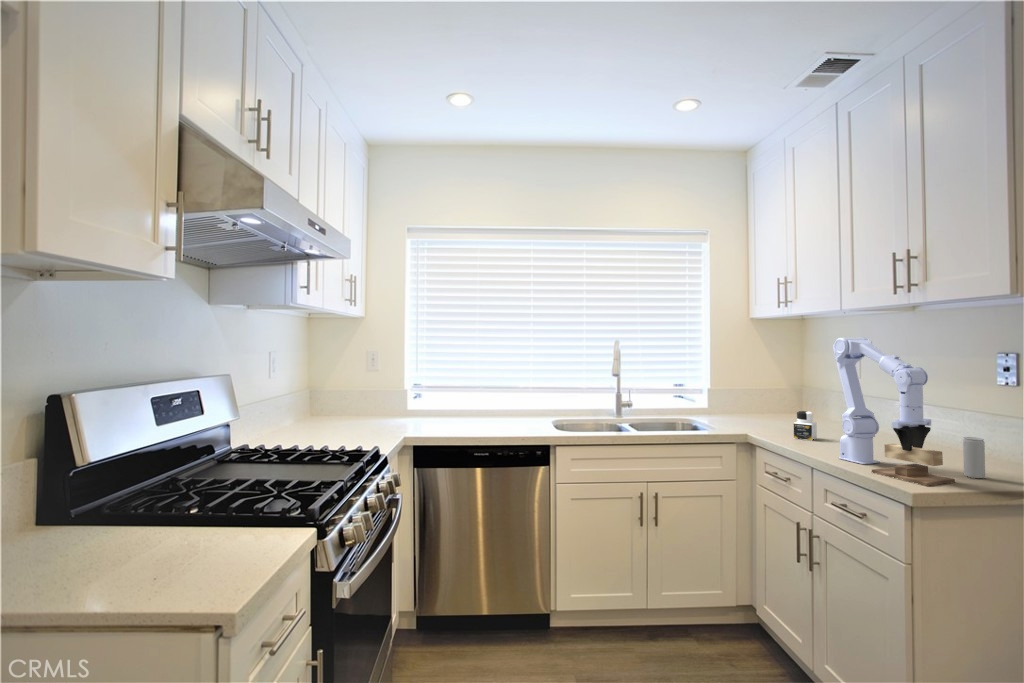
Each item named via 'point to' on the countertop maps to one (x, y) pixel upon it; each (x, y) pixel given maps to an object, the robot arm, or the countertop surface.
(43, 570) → the countertop surface
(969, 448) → the beverage can
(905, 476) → the fulcrum
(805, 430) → the medicine bottle
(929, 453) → the beam
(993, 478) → the countertop surface
